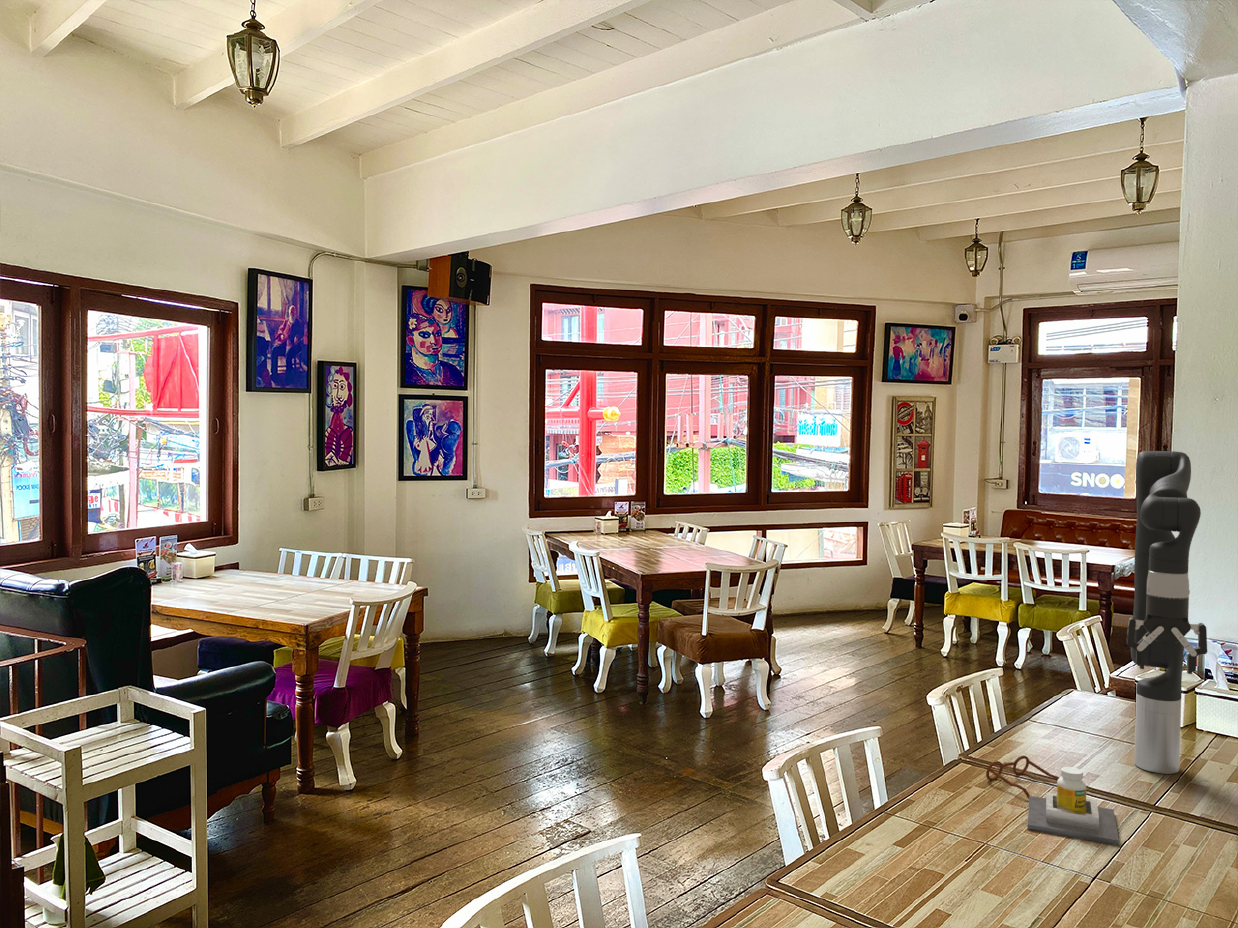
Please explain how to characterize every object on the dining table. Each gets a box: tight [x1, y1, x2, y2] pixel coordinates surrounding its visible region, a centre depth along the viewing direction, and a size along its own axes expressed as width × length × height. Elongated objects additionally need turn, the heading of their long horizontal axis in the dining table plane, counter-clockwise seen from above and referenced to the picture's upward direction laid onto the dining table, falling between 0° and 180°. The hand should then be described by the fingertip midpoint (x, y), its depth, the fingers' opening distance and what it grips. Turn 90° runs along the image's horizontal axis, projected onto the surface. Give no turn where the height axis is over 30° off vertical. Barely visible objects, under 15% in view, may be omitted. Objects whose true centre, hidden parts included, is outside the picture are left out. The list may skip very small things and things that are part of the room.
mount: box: [1027, 792, 1120, 846], centre depth 184 cm, size 16×16×4 cm
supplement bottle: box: [1056, 766, 1087, 813], centre depth 184 cm, size 5×5×10 cm
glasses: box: [985, 755, 1060, 800], centre depth 202 cm, size 13×13×5 cm
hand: (1165, 670), depth 188 cm, fingers open, 8 cm apart
